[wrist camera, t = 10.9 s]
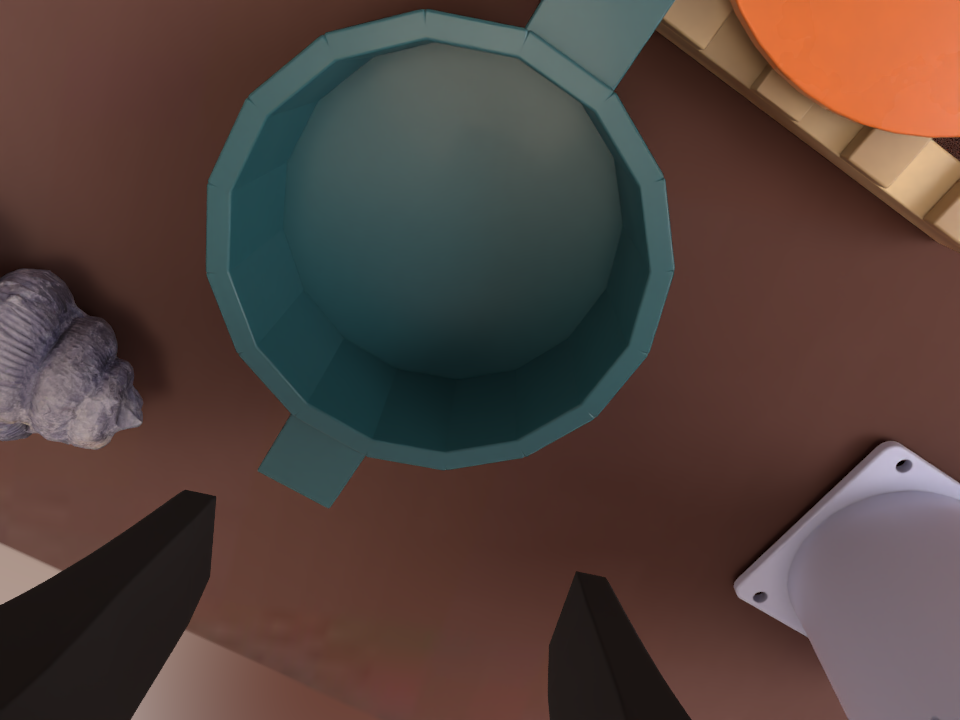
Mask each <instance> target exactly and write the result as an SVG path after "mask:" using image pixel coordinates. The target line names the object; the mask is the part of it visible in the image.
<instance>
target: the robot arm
mask: <svg viewBox="0 0 960 720" xmlns="http://www.w3.org/2000/svg"><path fill="white" fill-rule="evenodd" d="M901 460H906V461H905V462H904V464H902V465H900V466H896V465H897V463H898V462H900V461H901ZM215 507H216V496H212V495H208V494H203V493H198V492H193V491H188V490H184V491H182V492H180V493H179V494H177V495H176V496H175V497H173V498H172V499H170V500H169V501H167V502H166V503H165V504H163V505H162V506H160V507H159V508H158V509H156V510H155V511H153V512H152V513H151V514H149V515H148V516H146V517H145V518H143V519H142V520H141V521H139V522H138V523H136V524H135V525H133V526H132V527H130V528H129V529H128V530H126V531H125V532H123V533H122V534H120V535H119V536H117V537H116V538H114V539H113V540H111V541H110V542H108V543H107V544H105V545H104V546H102V547H101V548H99V549H97V550H96V551H94V552H93V553H91V554H90V555H88V556H87V557H85V558H83V559H82V560H80V561H78V562H77V563H75V564H73V565H72V566H70V567H68V568H67V569H65V570H63V571H62V572H60V573H58V574H57V575H55V576H54V577H52V578H50V579H48V580H47V581H45V582H43V583H41V584H39V585H38V586H36V587H34V588H32V589H30V590H29V591H27V592H25V593H23V594H21V595H19V596H17V597H15V598H13V599H12V600H10V601H8V602H6V603H4V604H2V605H0V720H131V718H132V716H133V715H134V713H135V711H136V710H137V708H138V706H139V705H140V703H141V701H142V700H143V698H144V697H145V695H146V693H147V691H148V690H149V688H150V687H151V685H152V684H153V682H154V680H155V679H156V677H157V675H158V674H159V672H160V670H161V669H162V667H163V665H164V664H165V662H166V660H167V659H168V657H169V656H170V654H171V652H172V651H173V649H174V647H175V646H176V644H177V642H178V641H179V639H180V637H181V636H182V634H183V632H184V631H185V629H186V627H187V626H188V624H189V622H190V619H191V617H192V615H193V613H194V611H195V609H196V607H197V605H198V602H199V600H200V598H201V596H202V593H203V591H204V589H205V587H206V584H207V582H208V580H209V578H210V570H211V557H212V545H213V532H214V519H215ZM734 589H735V591H736V594H737V596H738V597H739V598H740V599H742V600H744V601H745V602H747V603H749V604H750V605H752V606H754V607H756V608H757V609H759V610H761V611H763V612H764V613H766V614H768V615H770V616H771V617H773V618H775V619H777V620H778V621H780V622H782V623H784V624H785V625H787V626H789V627H791V628H792V629H794V630H796V631H798V632H799V633H801V634H803V635H805V636H806V637H808V638H809V640H810V642H811V644H812V646H813V648H814V650H815V653H816V655H817V657H818V659H819V661H820V663H821V665H822V667H823V669H824V671H825V673H826V675H827V677H828V679H829V681H830V683H831V685H832V687H833V689H834V691H835V693H836V695H837V697H838V699H839V701H840V703H841V705H842V708H843V710H844V712H845V714H846V716H847V718H848V720H960V483H959V482H957V481H956V480H954V479H953V478H951V477H950V476H948V475H947V474H945V473H944V472H942V471H941V470H939V469H938V468H936V467H935V466H933V465H932V464H930V463H929V462H927V461H926V460H924V459H923V458H921V457H920V456H918V455H917V454H915V453H914V452H912V451H911V450H909V449H908V448H906V447H905V446H903V445H902V444H900V443H898V442H896V441H887V442H883V443H881V444H880V445H878V446H877V447H876V448H875V449H874V450H873V451H872V452H871V453H870V454H869V455H868V456H866V457H865V458H864V459H863V460H862V461H861V462H860V463H859V464H858V465H857V466H856V467H855V468H854V469H853V470H852V471H851V472H850V473H848V474H847V475H846V476H845V477H844V478H843V479H842V480H841V481H840V482H839V483H838V484H837V485H836V486H835V487H834V488H833V489H832V490H830V491H829V492H828V493H827V494H826V495H825V496H824V497H823V498H822V499H821V500H820V501H819V502H818V503H817V504H816V505H815V506H814V507H812V508H811V509H810V510H809V511H808V512H807V513H806V514H805V515H804V516H803V517H802V518H801V519H800V520H799V521H798V522H797V523H796V524H794V525H793V526H792V527H791V528H790V529H789V530H788V531H787V532H786V533H785V534H784V535H783V536H782V537H781V538H780V539H779V540H778V541H776V542H775V543H774V544H773V545H772V546H771V547H770V548H769V549H768V550H767V551H766V552H765V553H764V554H763V555H762V556H761V557H759V558H758V559H757V560H756V561H755V562H754V563H753V564H752V565H751V566H750V567H749V568H748V569H747V570H746V571H745V572H744V573H743V574H741V575H740V576H739V577H738V578H737V579H736V581H735V582H734ZM758 592H763V593H761V594H759V595H755V594H756V593H758ZM548 703H549V714H550V720H691V718H690V717H689V716H688V714H687V713H686V711H685V710H684V708H683V707H682V706H681V704H680V703H679V701H678V700H677V698H676V697H675V695H674V694H673V692H672V691H671V689H670V688H669V686H668V685H667V683H666V681H665V680H664V678H663V677H662V675H661V674H660V672H659V670H658V669H657V667H656V665H655V664H654V662H653V660H652V659H651V657H650V655H649V654H648V652H647V650H646V649H645V647H644V645H643V644H642V642H641V640H640V638H639V637H638V635H637V633H636V631H635V629H634V628H633V626H632V624H631V622H630V620H629V619H628V617H627V615H626V613H625V611H624V610H623V608H622V606H621V604H620V602H619V600H618V598H617V597H616V595H615V593H614V591H613V589H612V587H611V585H610V584H609V582H608V580H607V579H606V577H601V576H596V575H591V574H586V573H582V572H577V571H576V573H575V576H574V579H573V581H572V584H571V587H570V590H569V592H568V595H567V598H566V601H565V603H564V606H563V609H562V612H561V614H560V617H559V620H558V622H557V625H556V628H555V631H554V633H553V636H552V639H551V642H550V644H549V666H548Z"/></svg>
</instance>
